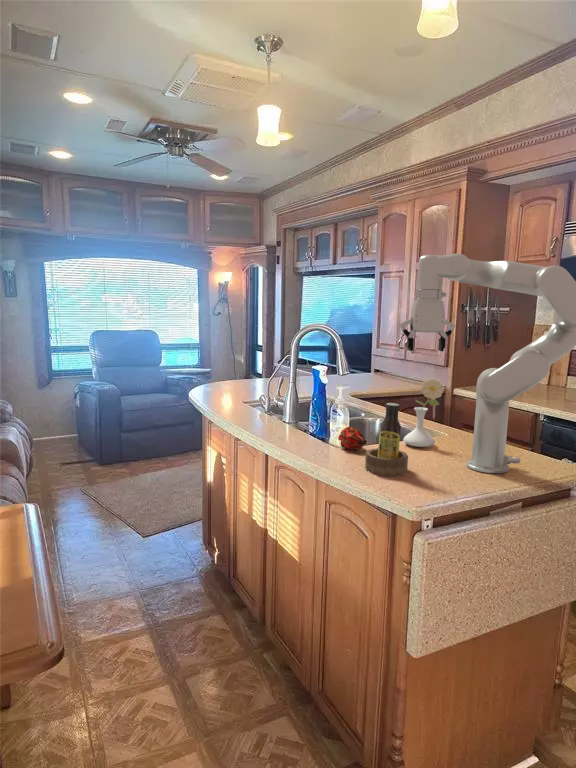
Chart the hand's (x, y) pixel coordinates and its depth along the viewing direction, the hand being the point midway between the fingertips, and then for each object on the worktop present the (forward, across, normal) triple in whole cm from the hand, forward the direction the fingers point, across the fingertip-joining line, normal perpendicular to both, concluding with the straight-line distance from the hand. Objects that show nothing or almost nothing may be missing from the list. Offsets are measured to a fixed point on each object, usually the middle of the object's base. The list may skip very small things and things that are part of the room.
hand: (425, 350), depth 159 cm
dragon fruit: (+36, +20, -14) cm, 44 cm away
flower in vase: (+36, -6, -20) cm, 42 cm away
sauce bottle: (+36, +12, +9) cm, 39 cm away
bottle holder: (+36, +13, +9) cm, 40 cm away
